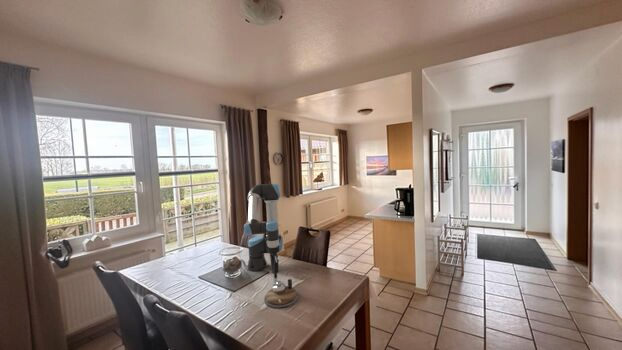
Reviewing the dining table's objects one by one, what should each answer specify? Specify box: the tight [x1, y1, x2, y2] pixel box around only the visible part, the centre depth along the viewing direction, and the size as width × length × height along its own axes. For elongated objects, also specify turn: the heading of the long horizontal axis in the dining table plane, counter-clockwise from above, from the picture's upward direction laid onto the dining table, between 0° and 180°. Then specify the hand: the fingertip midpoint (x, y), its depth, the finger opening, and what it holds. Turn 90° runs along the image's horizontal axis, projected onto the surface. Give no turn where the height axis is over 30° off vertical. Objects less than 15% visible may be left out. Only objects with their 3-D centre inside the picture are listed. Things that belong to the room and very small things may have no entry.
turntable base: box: [263, 291, 299, 309], centre depth 148 cm, size 20×20×1 cm
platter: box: [265, 278, 297, 305], centre depth 147 cm, size 18×18×6 cm
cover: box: [271, 280, 286, 294], centre depth 152 cm, size 8×8×5 cm
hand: (275, 282), depth 159 cm, fingers closed
